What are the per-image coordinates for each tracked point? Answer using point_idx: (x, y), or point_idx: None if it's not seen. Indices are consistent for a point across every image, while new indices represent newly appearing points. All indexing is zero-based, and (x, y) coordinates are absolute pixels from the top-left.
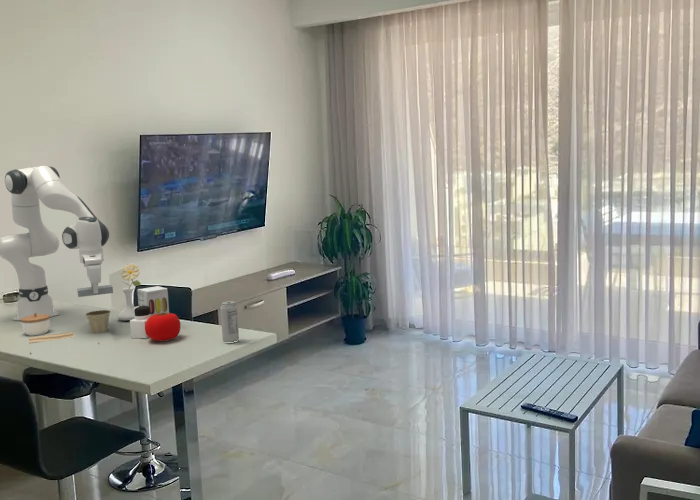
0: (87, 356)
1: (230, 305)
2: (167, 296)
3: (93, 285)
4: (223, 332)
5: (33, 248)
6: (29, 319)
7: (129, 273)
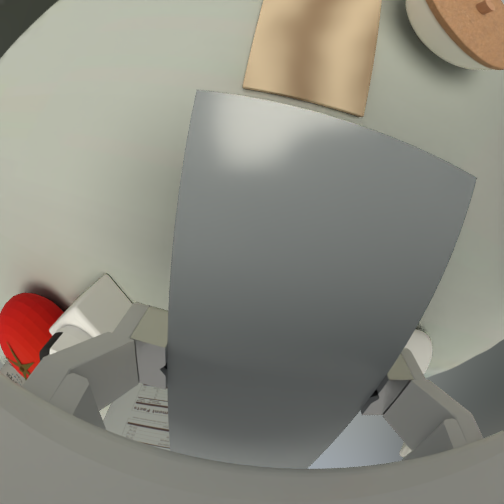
0: (9, 114)
1: None
2: None
3: (50, 364)
4: (1, 369)
5: None
6: None
7: None
